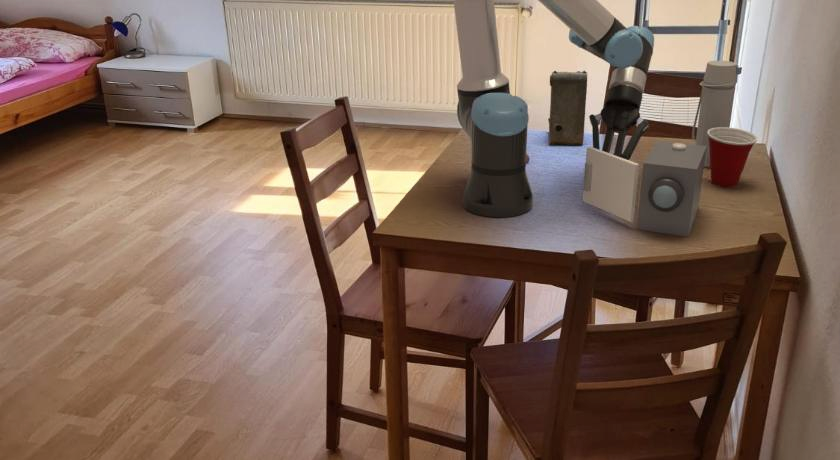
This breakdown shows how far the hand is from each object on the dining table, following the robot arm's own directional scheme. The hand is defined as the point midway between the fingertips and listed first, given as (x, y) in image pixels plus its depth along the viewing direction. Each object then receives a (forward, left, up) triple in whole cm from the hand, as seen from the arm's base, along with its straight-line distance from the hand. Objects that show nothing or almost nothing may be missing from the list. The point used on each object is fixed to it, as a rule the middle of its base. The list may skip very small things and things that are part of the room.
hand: (603, 188), depth 165 cm
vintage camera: (+15, +51, -5) cm, 54 cm away
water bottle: (+39, +20, -5) cm, 44 cm away
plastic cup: (+35, +6, -5) cm, 36 cm away
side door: (-1, -4, -3) cm, 6 cm away
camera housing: (+10, -9, -5) cm, 15 cm away
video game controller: (-4, +39, -5) cm, 40 cm away
